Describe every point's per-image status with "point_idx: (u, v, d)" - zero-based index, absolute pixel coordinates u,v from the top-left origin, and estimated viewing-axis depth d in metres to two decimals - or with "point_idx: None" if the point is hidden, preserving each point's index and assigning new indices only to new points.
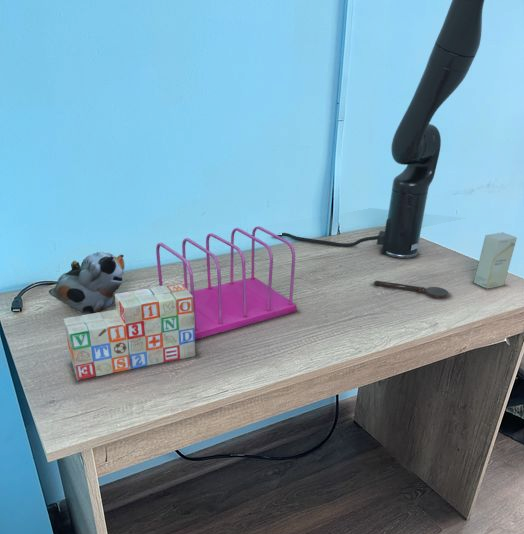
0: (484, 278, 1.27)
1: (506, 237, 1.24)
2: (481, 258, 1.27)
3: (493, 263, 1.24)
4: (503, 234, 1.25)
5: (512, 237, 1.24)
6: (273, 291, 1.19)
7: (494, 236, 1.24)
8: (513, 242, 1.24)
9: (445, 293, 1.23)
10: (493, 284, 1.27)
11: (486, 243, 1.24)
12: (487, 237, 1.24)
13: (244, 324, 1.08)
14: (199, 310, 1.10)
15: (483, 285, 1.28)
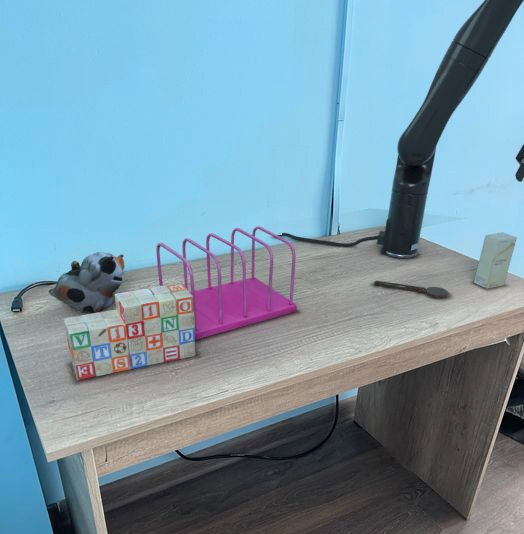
0: (484, 278, 1.27)
1: (506, 237, 1.24)
2: (481, 258, 1.27)
3: (493, 263, 1.24)
4: (503, 234, 1.25)
5: (512, 237, 1.24)
6: (273, 291, 1.19)
7: (494, 236, 1.24)
8: (513, 242, 1.24)
9: (445, 293, 1.23)
10: (493, 284, 1.27)
11: (486, 243, 1.24)
12: (487, 237, 1.24)
13: (244, 324, 1.08)
14: (199, 310, 1.10)
15: (483, 285, 1.28)
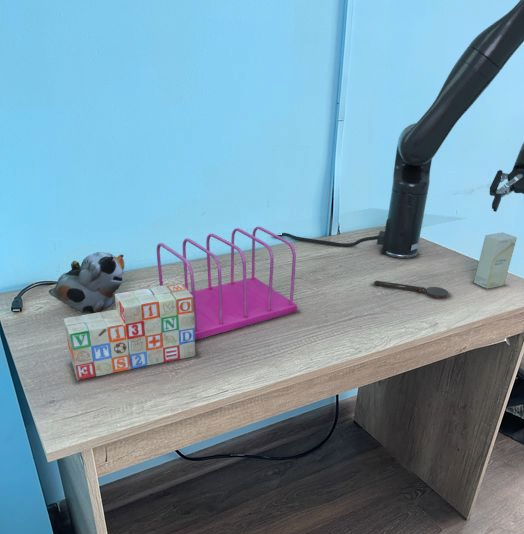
0: (484, 278, 1.27)
1: (506, 237, 1.24)
2: (481, 258, 1.27)
3: (493, 263, 1.24)
4: (503, 234, 1.25)
5: (512, 237, 1.24)
6: (273, 291, 1.19)
7: (494, 236, 1.24)
8: (513, 242, 1.24)
9: (445, 293, 1.23)
10: (493, 284, 1.27)
11: (486, 243, 1.24)
12: (487, 237, 1.24)
13: (245, 324, 1.08)
14: (199, 310, 1.10)
15: (483, 285, 1.28)
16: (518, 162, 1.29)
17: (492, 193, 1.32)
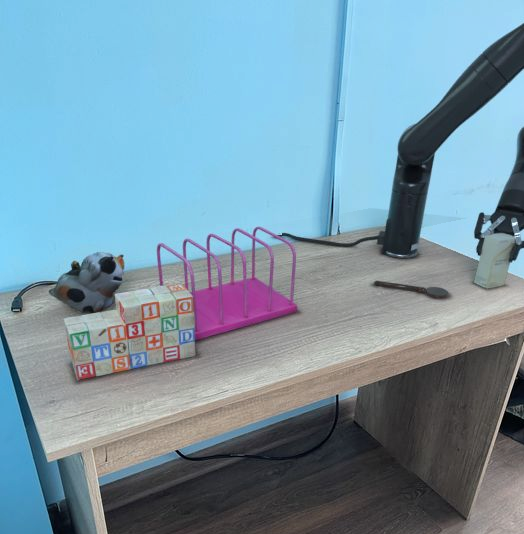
0: (484, 278, 1.27)
1: (506, 237, 1.24)
2: (481, 258, 1.27)
3: (493, 263, 1.24)
4: (503, 234, 1.25)
5: (512, 237, 1.24)
6: (274, 291, 1.19)
7: (494, 236, 1.24)
8: (513, 242, 1.24)
9: (445, 293, 1.23)
10: (493, 284, 1.27)
11: (486, 243, 1.24)
12: (487, 237, 1.24)
13: (245, 324, 1.08)
14: (199, 310, 1.10)
15: (483, 285, 1.28)
16: (501, 203, 1.26)
17: (477, 236, 1.28)
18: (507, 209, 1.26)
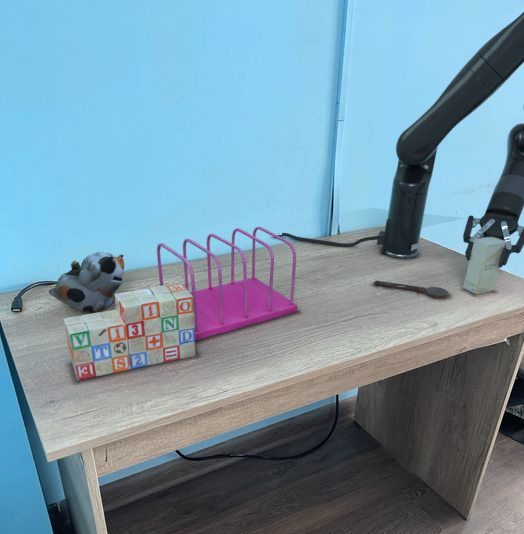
0: (473, 284, 1.23)
1: (496, 241, 1.20)
2: (470, 263, 1.23)
3: (482, 268, 1.20)
4: (493, 238, 1.22)
5: (502, 241, 1.20)
6: (274, 291, 1.19)
7: (483, 240, 1.20)
8: (503, 246, 1.20)
9: (445, 293, 1.23)
10: (482, 290, 1.24)
11: (475, 247, 1.21)
12: (476, 241, 1.20)
13: (245, 325, 1.08)
14: (199, 310, 1.10)
15: (472, 290, 1.24)
16: (490, 206, 1.22)
17: (466, 240, 1.24)
18: (497, 212, 1.22)
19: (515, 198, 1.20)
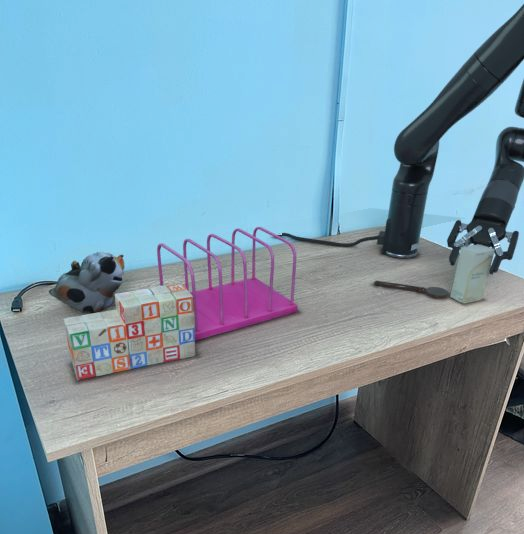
0: (460, 293, 1.20)
1: (484, 249, 1.16)
2: (457, 271, 1.19)
3: (469, 277, 1.16)
4: (480, 246, 1.18)
5: (490, 249, 1.16)
6: (274, 291, 1.19)
7: (470, 248, 1.16)
8: (491, 254, 1.16)
9: (445, 293, 1.23)
10: (470, 299, 1.20)
11: (462, 255, 1.17)
12: (463, 249, 1.16)
13: (245, 325, 1.08)
14: (200, 311, 1.10)
15: (460, 300, 1.20)
16: (477, 212, 1.18)
17: (450, 245, 1.21)
18: (484, 218, 1.18)
19: (503, 204, 1.16)
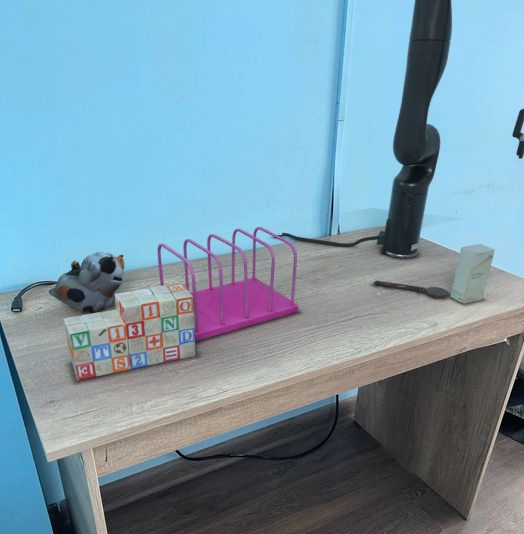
0: (460, 293, 1.20)
1: (484, 249, 1.16)
2: (457, 271, 1.19)
3: (469, 277, 1.16)
4: (480, 246, 1.18)
5: (490, 249, 1.16)
6: (274, 292, 1.19)
7: (470, 248, 1.16)
8: (491, 254, 1.16)
9: (445, 293, 1.23)
10: (470, 299, 1.20)
11: (462, 255, 1.17)
12: (463, 249, 1.16)
13: (246, 325, 1.08)
14: (200, 311, 1.10)
15: (460, 300, 1.20)
16: None
17: None
18: None
19: None
